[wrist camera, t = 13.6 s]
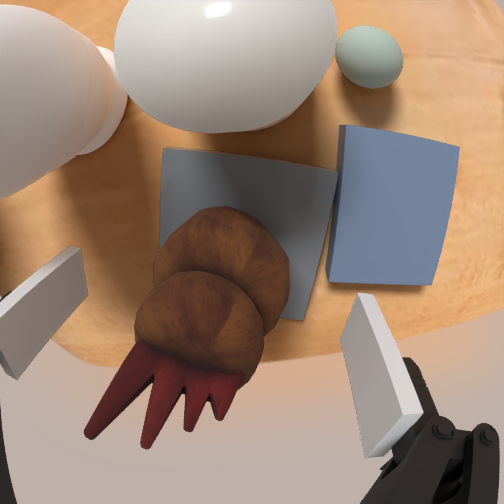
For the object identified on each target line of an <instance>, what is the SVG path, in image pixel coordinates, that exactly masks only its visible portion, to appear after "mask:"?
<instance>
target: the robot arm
mask: <svg viewBox="0 0 504 504" xmlns="http://www.w3.org/2000/svg"><path fill="white" fill-rule="evenodd" d="M87 296H88V290H87V284H86V278H85V271H84V264H83V257H82V249H81V248H79V247H74V246H69V247H68V248H66V249H65V250H64V251H62V252H61V253H60V254H58V255H57V256H56V257H54V258H53V259H52V260H50V261H49V262H48V263H46V264H45V265H44V266H43V267H41V268H40V269H39V270H38V271H36V272H35V273H34V274H33V275H31V276H30V277H29V278H28V279H26V280H25V281H24V282H23V283H22V284H20V285H19V286H18V287H17V288H16V289H14V290H12V291H10V292H8V293H7V294H6V295H5V296H3V297H2V298H1V300H0V363H1V365H2V367H3V369H4V371H5V373H6V374H8V375H9V376H11V377H12V378H14V379H16V380H18V379H19V377H20V376H21V375H22V373H23V372H24V371H25V369H26V368H27V367H28V366H29V364H30V363H31V362H32V360H33V359H34V358H35V357H36V355H37V354H38V353H39V352H40V350H41V349H42V348H43V347H44V346H45V344H46V343H47V342H48V341H49V339H50V338H51V337H52V336H53V335H54V334H55V332H56V331H57V330H58V329H59V328H60V326H61V325H62V324H63V323H64V322H65V321H66V320H67V318H68V317H69V316H70V315H71V314H72V313H73V312H74V310H75V309H76V308H77V307H78V306H79V305H80V304H81V303H82V302H83V300H84V299H85V298H86V297H87ZM340 341H341V346H342V350H343V354H344V358H345V362H346V367H347V371H348V375H349V380H350V385H351V390H352V394H353V399H354V404H355V409H356V414H357V419H358V424H359V430H360V434H361V441H362V446H363V452H364V458H370V457H381V456H384V455H385V454H386V453H387V452H388V451H389V450H390V449H391V448H392V453H393V457H392V458H391V459H390V460H389V461H388V462H387V463H386V464H384V465H383V466H382V467H381V468H380V470H383V469H384V470H383V471H382V473H381V474H380V476H379V477H378V479H377V480H376V482H375V483H374V485H373V486H372V487H371V489H370V490H369V492H368V493H367V494H366V496H365V497H364V498H363V500H362V501H361V503H360V504H497V500H498V488H499V463H500V460H499V459H500V454H499V453H500V452H499V436H498V433H497V432H496V430H495V429H494V428H493V427H492V426H491V425H489V424H487V423H481V424H479V425H477V426H476V427H475V428H474V429H473V430H472V431H465V430H458V429H455V426H454V425H453V423H452V422H451V421H450V420H448V419H447V418H445V417H442V416H439V414H438V412H437V409H436V407H435V404H434V402H433V399H432V397H431V395H430V392H429V390H428V387H426V383H425V380H424V379H423V378H422V377H423V376H422V374H421V371H420V369H419V367H418V366H417V365H416V363H415V362H414V361H413V360H412V359H411V358H402V357H401V355H400V352H399V350H398V348H397V345H396V343H395V341H394V339H393V336H392V334H391V332H390V330H389V328H388V325H387V323H386V321H385V319H384V317H383V315H382V313H381V311H380V308H379V306H378V304H377V302H376V300H375V298H374V296H373V294H366V293H358V292H357V295H356V298H355V301H354V304H353V306H352V309H351V312H350V314H349V317H348V320H347V322H346V325H345V328H344V330H343V333H342V335H341V338H340ZM0 504H17V502H16V498H15V496H14V491H13V487H12V483H11V479H10V474H9V469H8V464H7V459H6V453H5V446H4V439H3V431H2V421H1V409H0Z"/></svg>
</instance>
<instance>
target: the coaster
mask: <svg viewBox="0 0 504 504" xmlns="http://www.w3.org/2000/svg"><path fill="white" fill-rule="evenodd" d="M338 175H339V172H338V171H336V170H332V169H327V168H322V167H317V166H312V165H306V164H301V163H295V162H289V161H283V160H277V159H271V158H264V157H257V156H250V155H243V154H235V153H227V152H218V151H209V150H199V149H188V148H175V147H166V148H163V157H162V172H161V190H160V218H159V250H160V249H161V247H162V246H163V244H164V243H165V241H166V240H167V238H168V237H169V236H170V235H171V234H172V233H173V232H174V231H175V230H176V229H177V228H178V227H179V226H181V225H182V224H183V223H184V222H185V221H187V220H188V219H189V218H190V217H192V216H193V215H194V214H195V213H196V212H198V211H199V210H202V209H205V208H211V207H218V206H229V207H232V208H234V209H237V210H240V211H243V212H245V213H247V214H248V215H250V216H252V217H254V218H255V219H257V220H259V221H260V222H261V223H262V224H263V225H264V226H265V227H266V228H267V229H268V230H269V231H270V232H271V233H272V235H273V236H274V237H275V239H276V240H277V241H278V243H279V244H280V246H281V247H282V248H283V250H284V251H285V253H286V255H287V256H288V258H289V277H290V292H289V298H288V302H287V304H286V306H285V308H284V310H283V312H282V314H281V316H280V318H287V319H294V320H301V321H303V319H304V316H305V312H306V309H307V305H308V301H309V298H310V294H311V291H312V287H313V283H314V279H315V275H316V272H317V268H318V264H319V260H320V256H321V252H322V248H323V244H324V239H325V235H326V231H327V227H328V222H329V218H330V213H331V209H332V204H333V200H334V195H335V190H336V185H337V180H338Z"/></svg>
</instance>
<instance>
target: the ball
mask: <svg viewBox="0 0 504 504" xmlns="http://www.w3.org/2000/svg"><path fill="white" fill-rule="evenodd" d="M335 56H336V61H337V64H338V66H339V68H340V70H341V71H342V73H343V74H344V75H345V76H346V77H347V78H348V79H349V80H350V81H352V82H353V83H355V84H357V85H359V86H362V87H366V88H373V89H374V88H382V87H386V86H388V85H390V84H391V83H393V82H394V81H395V80H396V79H397V78H398V76H399V75H400V73H401V71H402V67H403V55H402V52H401V49H400V47H399V45H398V43H397V42H396V41H395V39H394V38H393V37H392V36H391V35H389V34H388V33H387V32H385V31H383V30H382V29H379V28H377V27H373V26H366V25H363V26H356V27H353V28H351V29H349V30H347V31H346V32H344V33H343V34H342V35H341V37H340V38H339V40H338V42H337V44H336V48H335Z"/></svg>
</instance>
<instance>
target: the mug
mask: <svg viewBox="0 0 504 504" xmlns="http://www.w3.org/2000/svg"><path fill="white" fill-rule="evenodd" d="M336 42H337V21H336V15H335V11H334V8H333V5H332V2H331V0H129V2H128V3H127V5H126V7H125V8H124V10H123V12H122V15H121V17H120V19H119V22H118V26H117V29H116V33H115V40H114V60H115V67H116V70H117V73H118V77H119V79H120V81H121V83H122V86H123V88H124V89H125V91H126V92H127V94H128V95H129V97H130V98H131V99H132V100H133V101H134V102H135V104H136V105H137V106H138V107H139V108H141V109H142V110H143V111H144V112H146V113H147V114H148V115H149V116H151V117H153V118H155V119H156V120H158V121H160V122H162V123H164V124H167V125H169V126H171V127H174V128H178V129H182V130H185V131H191V132H198V133H227V132H240V131H255V130H261V129H265V128H268V127H271V126H274V125H276V124H278V123H280V122H282V121H283V120H285V119H286V118H288V117H289V116H290V115H292V114H293V113H294V112H295V111H296V110H297V109H298V107H299V106H300V105H301V104H302V103H303V102H304V100H305V99H306V98H307V97H308V96H309V95H310V93H311V92H312V91H313V90H314V89H315V87H316V86H317V85H318V83H319V82H320V81H321V79H322V78H323V77H324V75H325V73H326V71H327V69H328V68H329V66H330V63H331V61H332V58H333V55H334V52H335V47H336Z"/></svg>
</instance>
